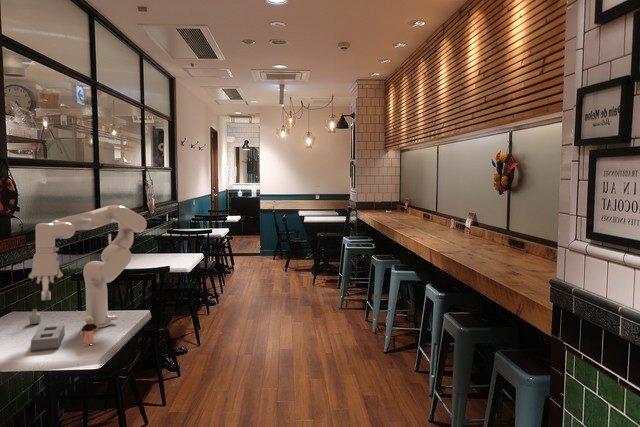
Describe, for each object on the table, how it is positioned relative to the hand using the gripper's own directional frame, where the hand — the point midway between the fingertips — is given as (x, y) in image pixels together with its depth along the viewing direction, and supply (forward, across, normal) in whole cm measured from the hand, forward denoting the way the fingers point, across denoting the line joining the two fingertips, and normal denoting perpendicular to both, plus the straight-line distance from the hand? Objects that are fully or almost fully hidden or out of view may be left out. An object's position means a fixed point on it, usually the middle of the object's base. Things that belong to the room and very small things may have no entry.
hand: (46, 291), depth 220 cm
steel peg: (+4, 0, 0) cm, 4 cm away
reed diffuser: (+22, +11, -26) cm, 36 cm away
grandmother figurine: (+22, -20, +14) cm, 33 cm away
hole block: (+22, -2, +7) cm, 23 cm away
